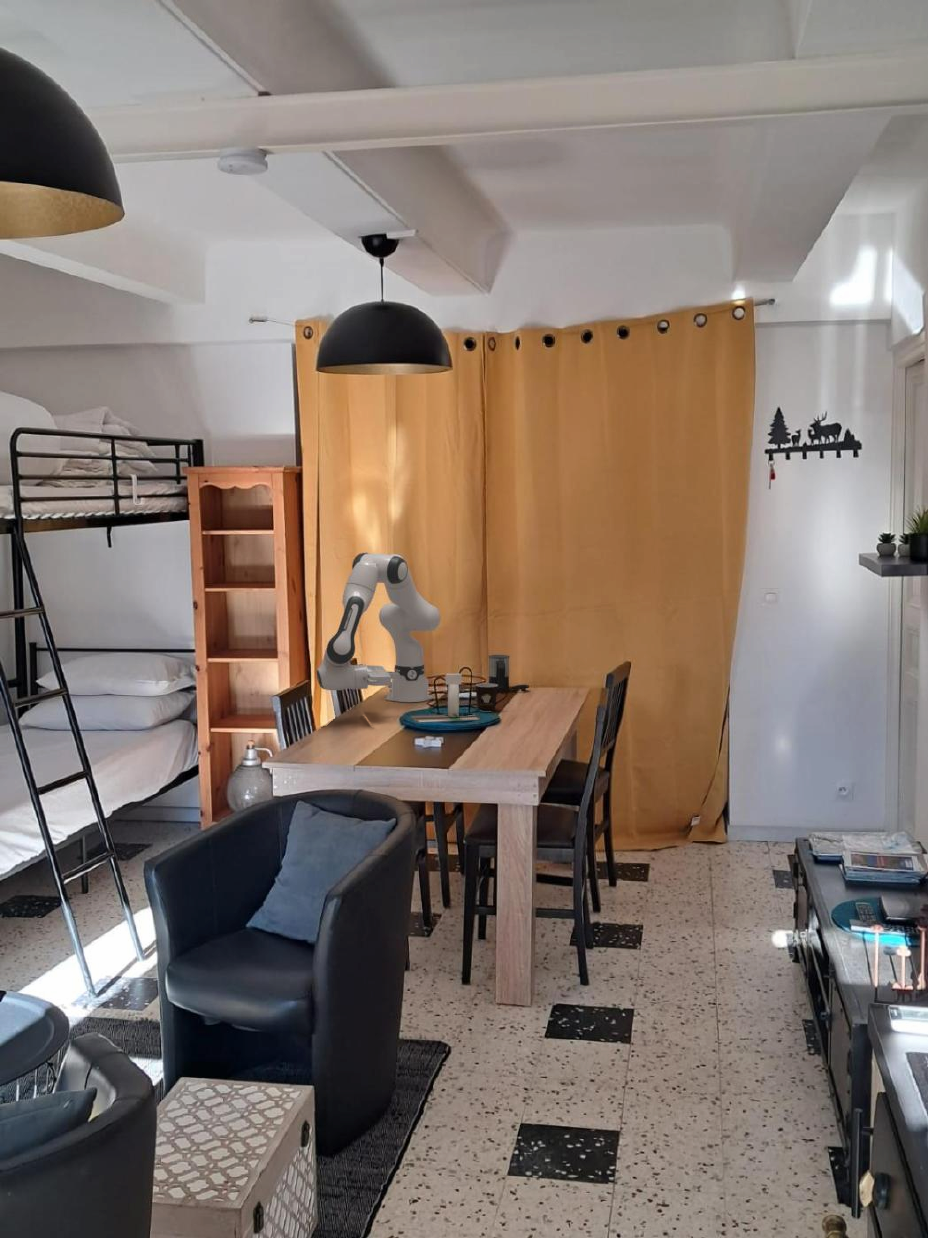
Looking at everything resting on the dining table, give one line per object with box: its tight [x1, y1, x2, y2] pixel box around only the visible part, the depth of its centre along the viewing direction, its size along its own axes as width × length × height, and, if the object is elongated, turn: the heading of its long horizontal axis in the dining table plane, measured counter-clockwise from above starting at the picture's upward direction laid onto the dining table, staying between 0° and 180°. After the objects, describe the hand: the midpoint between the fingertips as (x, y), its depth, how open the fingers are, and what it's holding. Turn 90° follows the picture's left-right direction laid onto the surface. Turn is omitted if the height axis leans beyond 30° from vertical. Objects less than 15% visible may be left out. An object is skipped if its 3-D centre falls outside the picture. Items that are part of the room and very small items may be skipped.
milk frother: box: [488, 654, 530, 693], centre depth 507 cm, size 14×16×15 cm
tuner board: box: [410, 713, 482, 723], centre depth 440 cm, size 12×24×2 cm, turn 103°
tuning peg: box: [445, 673, 463, 717], centre depth 438 cm, size 8×6×16 cm
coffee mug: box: [475, 682, 508, 713], centre depth 461 cm, size 12×9×10 cm
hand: (399, 674), depth 441 cm, fingers closed
